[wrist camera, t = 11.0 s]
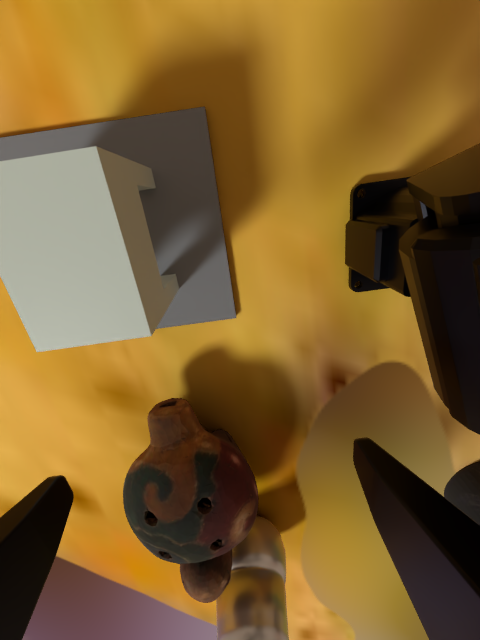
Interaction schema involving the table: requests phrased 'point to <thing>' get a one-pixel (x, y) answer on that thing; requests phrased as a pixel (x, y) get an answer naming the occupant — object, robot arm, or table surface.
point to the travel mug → (466, 491)
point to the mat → (163, 200)
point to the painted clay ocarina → (191, 498)
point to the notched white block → (80, 248)
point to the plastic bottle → (255, 588)
